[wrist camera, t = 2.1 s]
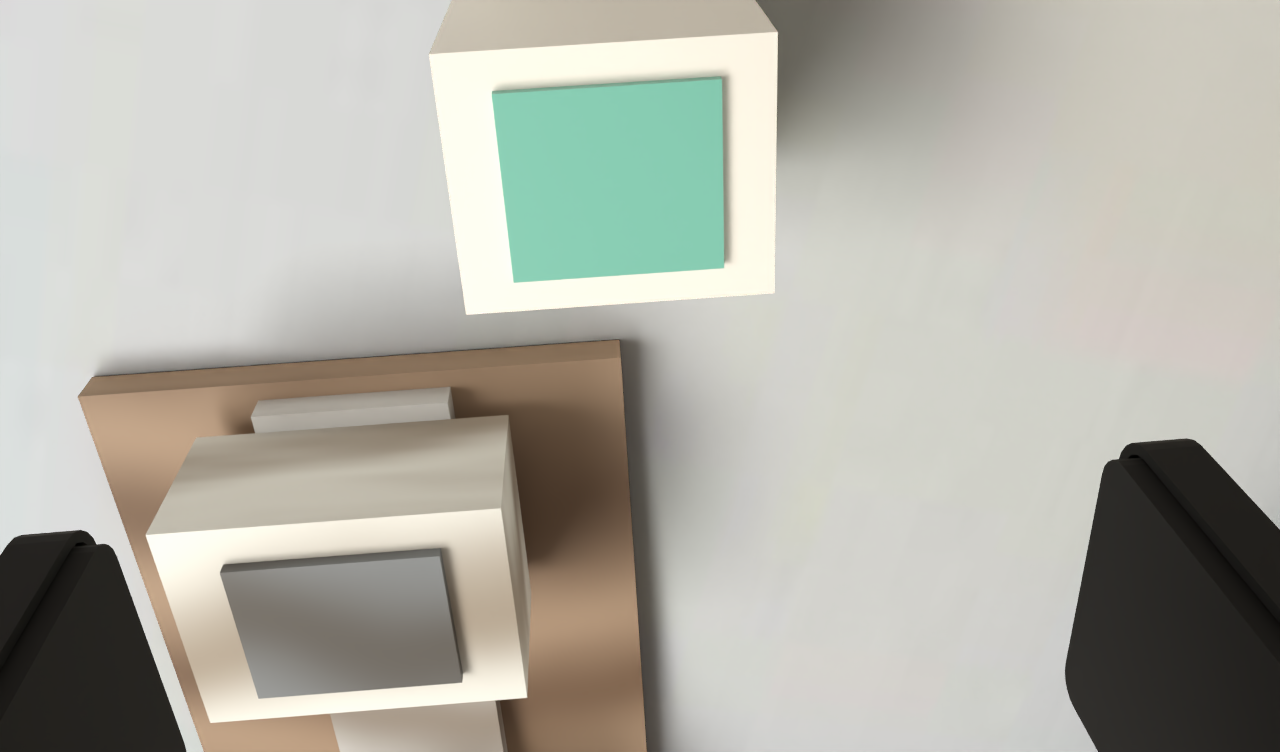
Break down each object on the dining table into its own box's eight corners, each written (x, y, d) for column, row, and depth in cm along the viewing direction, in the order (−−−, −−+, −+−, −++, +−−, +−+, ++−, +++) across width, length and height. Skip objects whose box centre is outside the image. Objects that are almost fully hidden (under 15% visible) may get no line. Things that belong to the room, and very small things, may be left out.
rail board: (92, 377, 29) (-11, 517, 24) (619, 339, 30) (630, 470, 25) (271, 897, 41) (227, 1071, 35) (653, 865, 41) (667, 1032, 36)
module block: (461, -24, 25) (427, 57, 19) (726, -40, 25) (779, 34, 19) (487, 187, 28) (465, 319, 21) (728, 171, 28) (776, 297, 21)
